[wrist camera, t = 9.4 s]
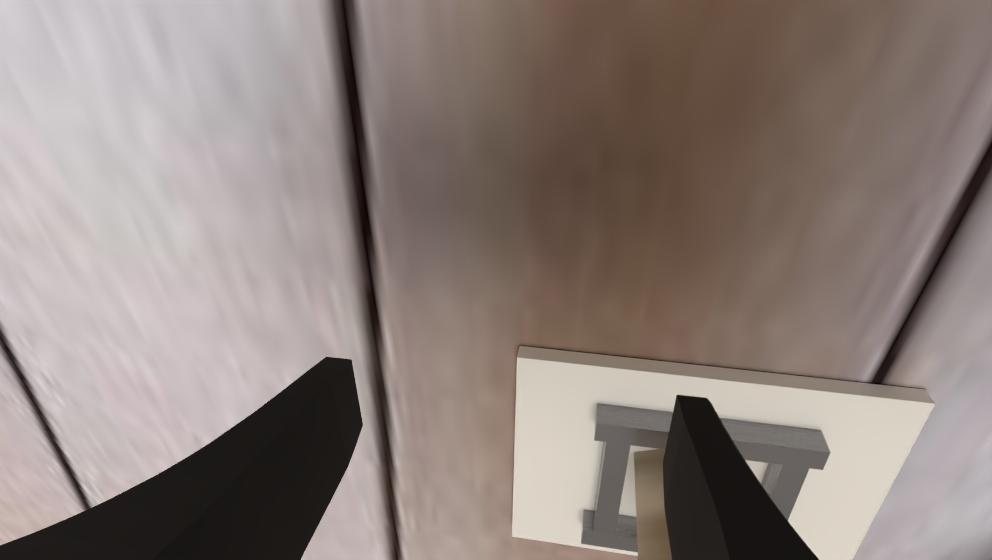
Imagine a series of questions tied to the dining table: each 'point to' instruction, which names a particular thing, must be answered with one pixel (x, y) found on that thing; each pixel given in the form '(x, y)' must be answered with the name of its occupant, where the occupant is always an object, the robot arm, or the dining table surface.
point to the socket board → (747, 418)
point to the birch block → (651, 506)
